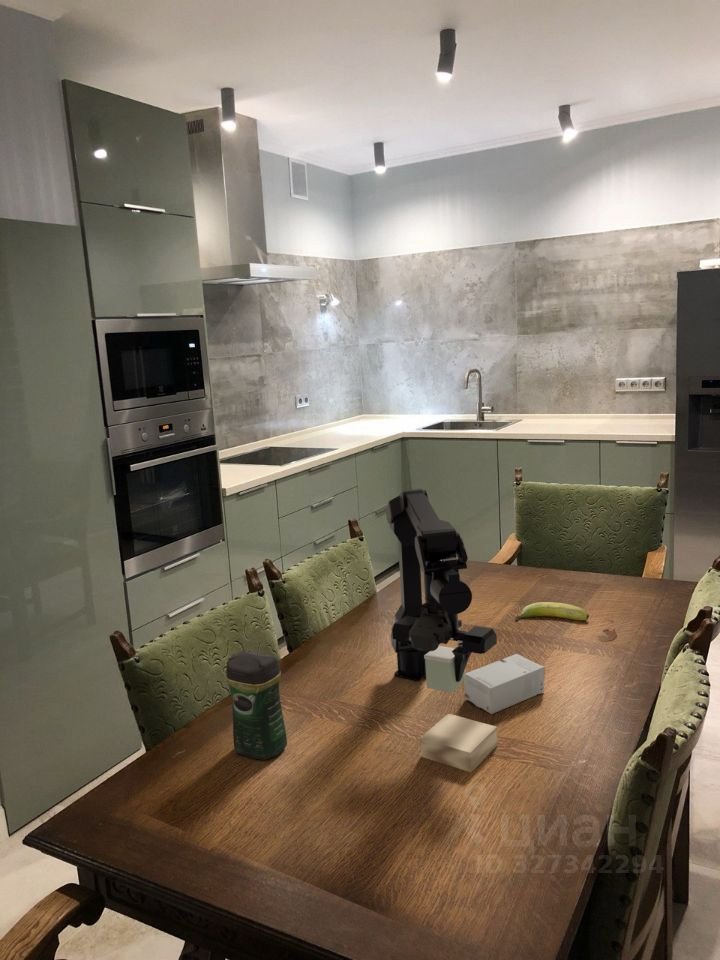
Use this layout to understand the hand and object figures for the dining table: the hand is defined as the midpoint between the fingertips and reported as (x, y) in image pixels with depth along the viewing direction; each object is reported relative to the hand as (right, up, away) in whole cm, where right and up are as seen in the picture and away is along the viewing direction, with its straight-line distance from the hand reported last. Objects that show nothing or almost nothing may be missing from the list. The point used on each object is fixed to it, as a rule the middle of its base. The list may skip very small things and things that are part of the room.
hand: (445, 678), depth 141 cm
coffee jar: (-34, -14, +3) cm, 37 cm away
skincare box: (+20, -4, +20) cm, 29 cm away
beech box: (+2, -13, -2) cm, 13 cm away
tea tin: (0, -1, 0) cm, 1 cm away
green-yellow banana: (+33, 0, +56) cm, 66 cm away
